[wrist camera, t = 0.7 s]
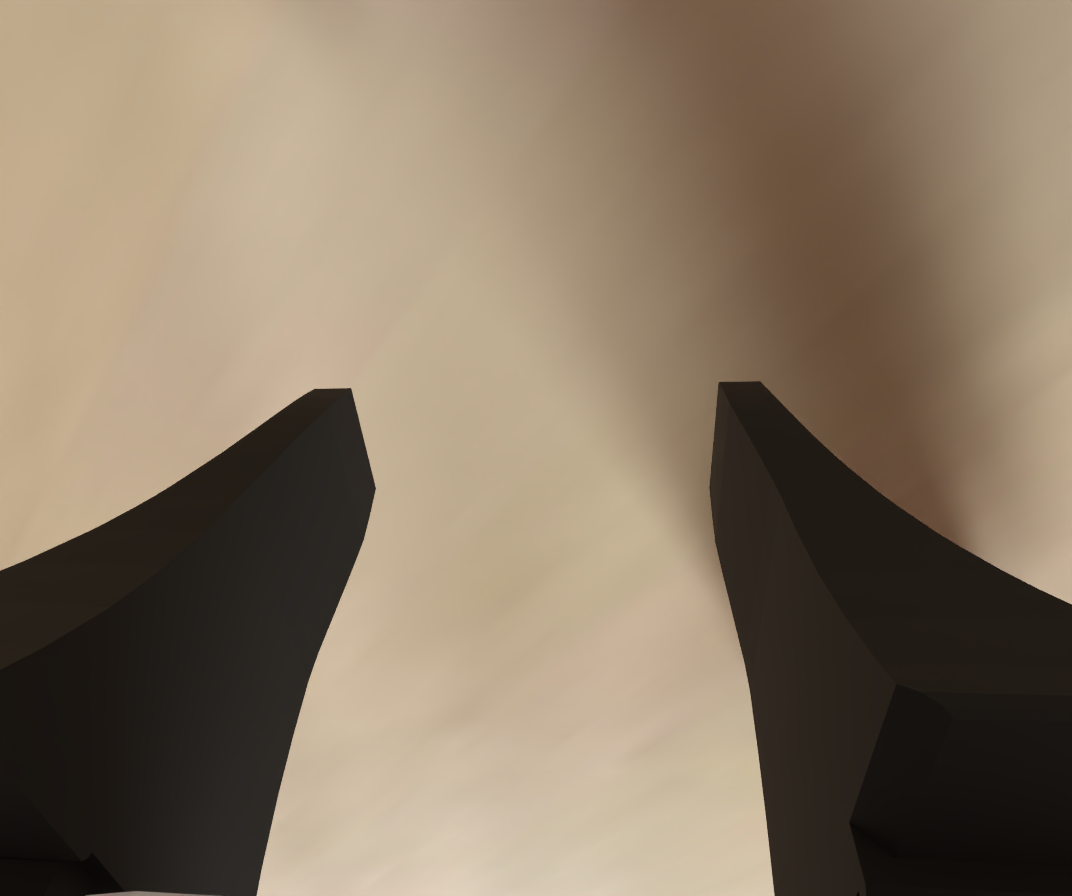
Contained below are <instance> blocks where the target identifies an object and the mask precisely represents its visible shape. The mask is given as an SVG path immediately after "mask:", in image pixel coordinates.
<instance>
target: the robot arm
mask: <svg viewBox="0 0 1072 896" xmlns="http://www.w3.org/2000/svg"><path fill="white" fill-rule="evenodd" d="M375 490H376V487H375V483H374V479H373V475H372V471H371V467H370V463H369V459H368V455H367V451H366V447H365V443H364V439H363V435H362V431H361V427H360V423H359V418H358V414H357V410H356V406H355V402H354V398H353V394H352V390H351V388H344V389H314V390H312V391H310V392H308V393H307V394H305V395H303V396H302V397H300V398H299V399H297V400H296V401H294V402H293V403H291V404H290V405H288V406H287V407H286V408H284V409H283V410H281V411H280V412H278V413H277V414H276V415H274V416H273V417H271V418H270V419H269V420H267V421H266V422H265V423H263V424H262V425H260V426H259V427H258V428H256V429H255V430H253V431H252V432H250V433H249V434H248V435H246V436H245V437H243V438H242V439H241V440H239V441H238V442H236V443H235V444H234V445H232V446H231V447H229V448H228V449H227V450H225V451H224V452H222V453H221V454H219V455H218V456H216V457H215V458H213V459H212V460H210V461H209V462H207V463H206V464H204V465H203V466H201V467H199V468H198V469H196V470H195V471H193V472H192V473H190V474H189V475H187V476H186V477H184V478H183V479H181V480H180V481H178V482H176V483H175V484H173V485H172V486H170V487H169V488H167V489H165V490H164V491H162V492H160V493H159V494H157V495H156V496H154V497H152V498H150V499H149V500H147V501H145V502H143V503H142V504H140V505H138V506H136V507H134V508H133V509H131V510H129V511H127V512H125V513H123V514H121V515H120V516H118V517H116V518H114V519H112V520H110V521H108V522H107V523H105V524H103V525H101V526H99V527H97V528H95V529H93V530H91V531H89V532H87V533H84V534H82V535H80V536H78V537H76V538H74V539H71V540H69V541H67V542H65V543H63V544H60V545H58V546H56V547H54V548H52V549H50V550H47V551H45V552H43V553H41V554H39V555H37V556H34V557H32V558H30V559H28V560H26V561H23V562H21V563H18V564H16V565H14V566H11V567H9V568H6V569H4V570H1V571H0V896H256V895H257V890H258V885H259V880H260V874H261V869H262V865H263V860H264V856H265V851H266V847H267V842H268V838H269V833H270V829H271V824H272V820H273V815H274V811H275V806H276V802H277V797H278V793H279V789H280V785H281V781H282V777H283V773H284V769H285V766H286V762H287V758H288V754H289V750H290V746H291V742H292V738H293V734H294V730H295V727H296V723H297V720H298V716H299V713H300V709H301V706H302V702H303V698H304V695H305V691H306V688H307V684H308V681H309V678H310V675H311V672H312V669H313V666H314V663H315V661H316V658H317V655H318V652H319V650H320V647H321V645H322V642H323V640H324V638H325V635H326V633H327V630H328V628H329V625H330V623H331V620H332V618H333V615H334V613H335V611H336V608H337V606H338V603H339V601H340V598H341V596H342V593H343V591H344V588H345V586H346V584H347V581H348V579H349V576H350V574H351V571H352V568H353V566H354V563H355V561H356V558H357V556H358V553H359V551H360V548H361V545H362V543H363V540H364V536H365V532H366V528H367V524H368V521H369V517H370V512H371V508H372V503H373V499H374V494H375ZM710 497H711V507H712V517H713V526H714V534H715V543H716V547H717V551H718V555H719V560H720V564H721V568H722V572H723V576H724V581H725V585H726V589H727V593H728V597H729V601H730V605H731V609H732V613H733V617H734V621H735V625H736V630H737V634H738V638H739V642H740V646H741V650H742V654H743V658H744V662H745V667H746V672H747V677H748V682H749V688H750V694H751V701H752V709H753V716H754V724H755V731H756V739H757V746H758V754H759V762H760V770H761V778H762V787H763V795H764V803H765V811H766V820H767V829H768V838H769V847H770V857H771V866H772V875H773V884H774V893H775V896H1072V605H1071V604H1069V603H1067V602H1065V601H1063V600H1061V599H1058V598H1056V597H1054V596H1052V595H1050V594H1048V593H1046V592H1043V591H1041V590H1039V589H1037V588H1035V587H1033V586H1031V585H1029V584H1027V583H1025V582H1023V581H1021V580H1020V579H1018V578H1016V577H1014V576H1012V575H1010V574H1008V573H1006V572H1004V571H1002V570H1000V569H999V568H997V567H995V566H993V565H991V564H990V563H988V562H986V561H984V560H983V559H981V558H979V557H977V556H975V555H974V554H972V553H970V552H968V551H967V550H965V549H963V548H961V547H960V546H958V545H956V544H955V543H953V542H951V541H950V540H948V539H946V538H945V537H943V536H942V535H940V534H938V533H937V532H935V531H934V530H932V529H931V528H929V527H928V526H926V525H925V524H923V523H922V522H920V521H919V520H917V519H916V518H914V517H913V516H911V515H910V514H908V513H907V512H906V511H904V510H903V509H901V508H900V507H898V506H897V505H895V504H894V503H893V502H891V501H890V500H889V499H887V498H886V497H885V496H883V495H882V494H881V493H879V492H878V491H877V490H875V489H874V488H873V487H872V486H870V485H869V484H868V483H867V482H866V481H864V480H863V479H862V478H861V477H859V476H858V475H857V474H856V473H854V472H853V471H852V470H851V469H850V468H848V467H847V466H846V465H845V464H844V463H843V462H841V461H840V460H839V459H838V458H837V457H836V456H835V455H834V454H832V453H831V452H830V451H829V450H828V449H827V448H826V447H825V446H824V445H823V444H822V443H821V442H819V441H818V440H817V439H816V438H815V437H814V436H813V435H812V434H811V433H810V432H809V431H808V430H807V429H806V428H805V427H804V426H803V425H802V424H801V423H800V422H799V421H798V420H797V419H796V418H795V417H794V416H793V415H792V414H791V413H790V412H789V411H788V410H787V409H786V408H785V407H784V406H783V405H782V403H781V402H780V401H779V400H778V399H777V398H776V397H775V396H774V395H773V394H772V393H771V392H770V391H769V390H768V389H767V388H766V387H765V386H764V385H763V384H762V383H761V382H760V381H757V382H719V385H718V397H717V408H716V420H715V431H714V442H713V454H712V465H711V477H710Z"/></svg>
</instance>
